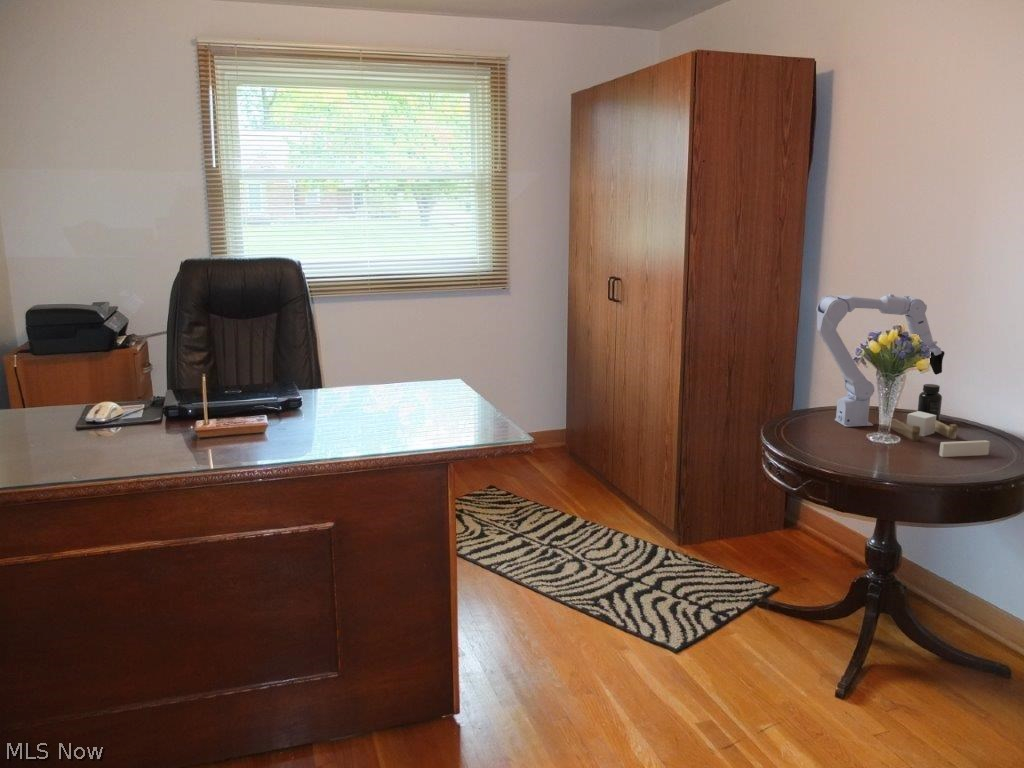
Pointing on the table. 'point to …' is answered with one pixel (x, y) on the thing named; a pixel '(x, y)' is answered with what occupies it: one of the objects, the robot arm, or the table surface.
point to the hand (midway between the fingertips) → (931, 371)
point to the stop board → (964, 448)
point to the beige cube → (922, 422)
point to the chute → (914, 432)
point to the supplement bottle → (930, 400)
